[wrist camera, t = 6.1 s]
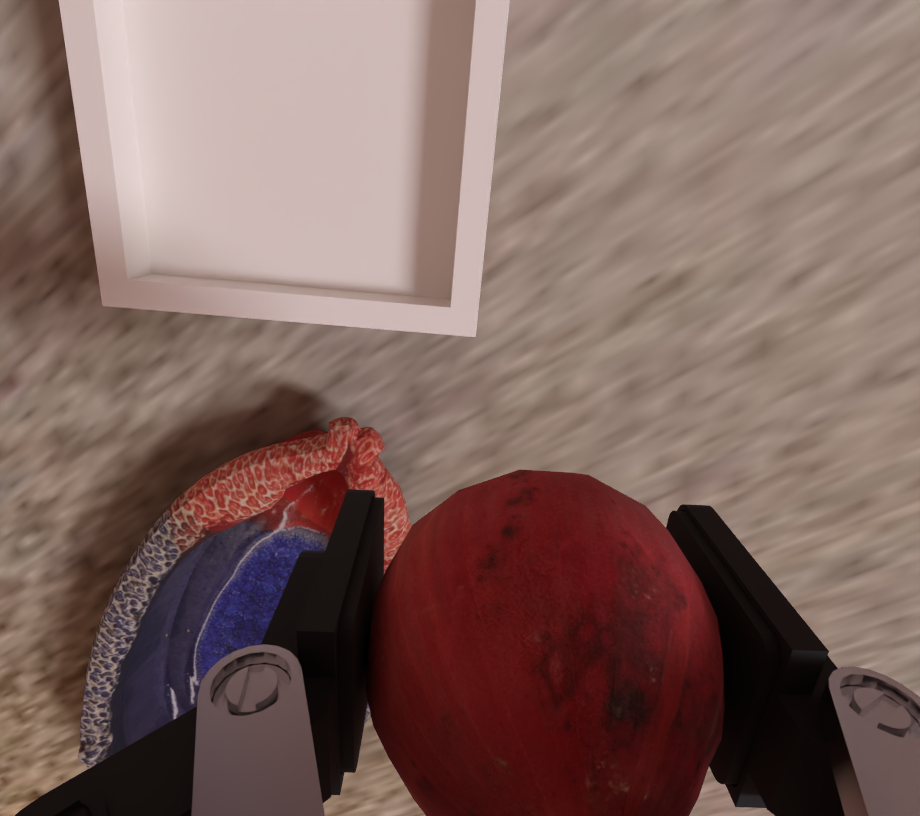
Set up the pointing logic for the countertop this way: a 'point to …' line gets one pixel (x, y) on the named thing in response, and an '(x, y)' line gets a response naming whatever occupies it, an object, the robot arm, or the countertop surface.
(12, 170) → the countertop surface
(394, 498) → the dish
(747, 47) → the countertop surface
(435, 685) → the onion
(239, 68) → the tray
